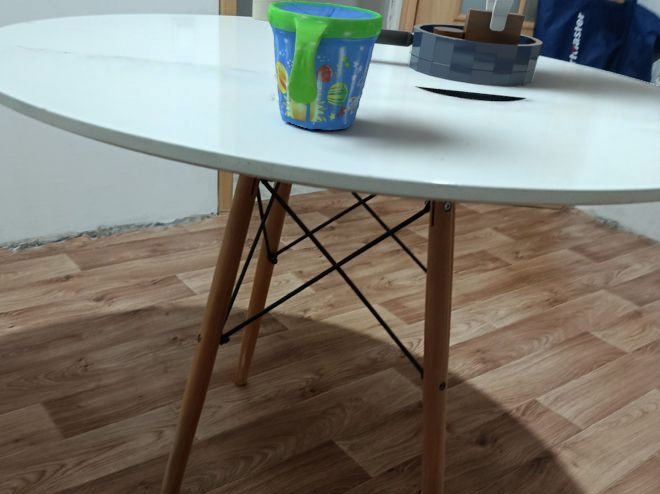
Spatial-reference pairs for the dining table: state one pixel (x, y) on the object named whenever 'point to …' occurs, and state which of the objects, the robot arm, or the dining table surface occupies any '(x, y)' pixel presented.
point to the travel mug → (263, 8)
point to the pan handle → (395, 38)
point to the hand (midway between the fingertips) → (492, 28)
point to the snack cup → (321, 60)
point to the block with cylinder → (485, 28)
